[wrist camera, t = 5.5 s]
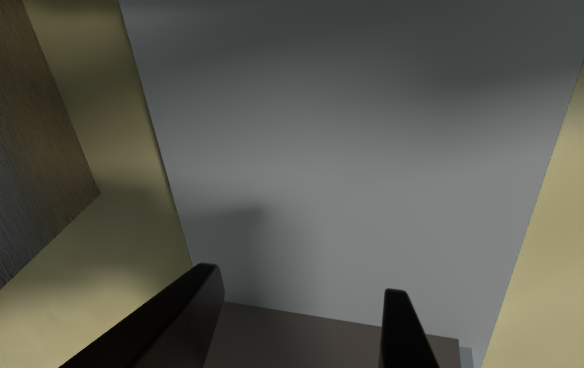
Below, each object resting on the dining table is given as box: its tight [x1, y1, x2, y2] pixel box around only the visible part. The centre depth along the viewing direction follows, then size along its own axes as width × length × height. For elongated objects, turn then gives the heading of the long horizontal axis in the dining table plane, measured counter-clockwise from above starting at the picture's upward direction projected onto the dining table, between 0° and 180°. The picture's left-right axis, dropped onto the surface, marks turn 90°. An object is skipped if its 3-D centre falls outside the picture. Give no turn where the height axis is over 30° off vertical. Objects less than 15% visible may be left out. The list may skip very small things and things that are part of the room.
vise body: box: [118, 0, 584, 368], centre depth 11 cm, size 11×21×4 cm, turn 4°
